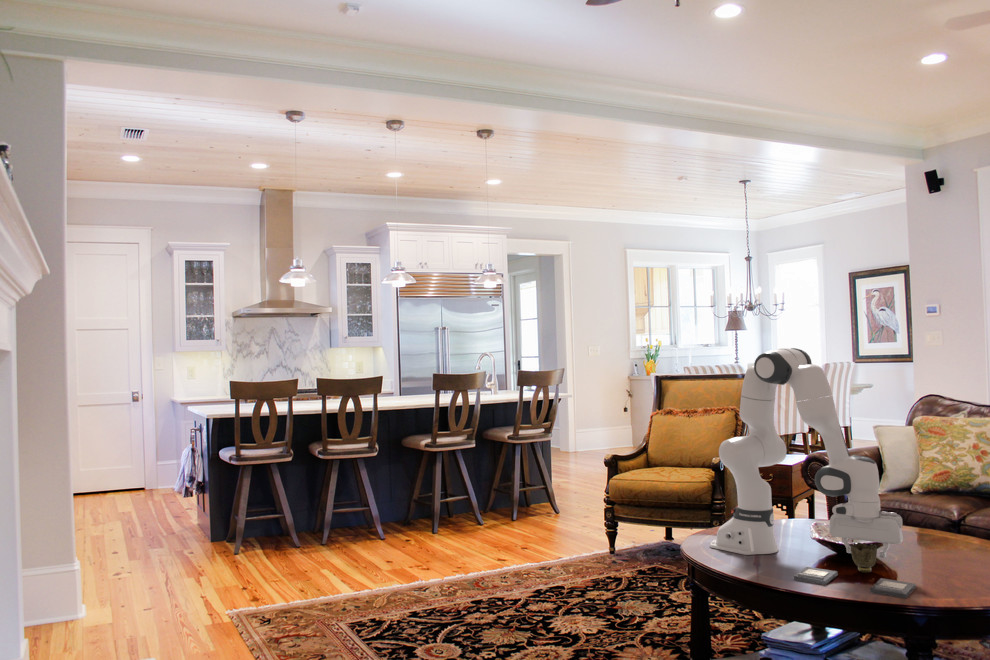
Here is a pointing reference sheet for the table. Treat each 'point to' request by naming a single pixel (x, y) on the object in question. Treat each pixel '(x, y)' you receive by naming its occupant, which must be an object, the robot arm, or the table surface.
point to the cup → (864, 556)
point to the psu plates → (879, 587)
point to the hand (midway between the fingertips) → (866, 555)
